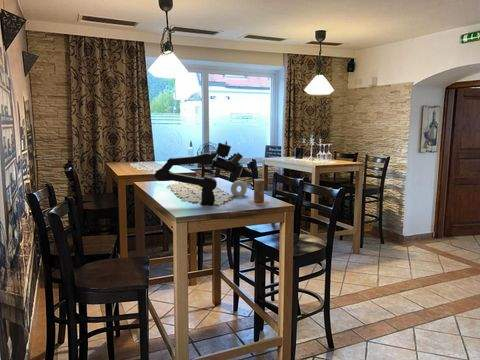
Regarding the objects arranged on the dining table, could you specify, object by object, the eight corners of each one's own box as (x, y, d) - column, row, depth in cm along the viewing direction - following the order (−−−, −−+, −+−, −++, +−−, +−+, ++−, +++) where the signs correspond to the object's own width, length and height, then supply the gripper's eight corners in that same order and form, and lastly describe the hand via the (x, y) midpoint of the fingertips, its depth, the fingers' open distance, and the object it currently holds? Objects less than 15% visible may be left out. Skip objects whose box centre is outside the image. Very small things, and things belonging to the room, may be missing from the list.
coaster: (248, 206, 197) (248, 204, 197) (246, 201, 209) (246, 200, 209) (271, 206, 198) (271, 204, 198) (268, 201, 210) (268, 200, 210)
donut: (245, 196, 225) (245, 179, 224) (247, 197, 222) (248, 180, 221) (229, 197, 221) (229, 180, 220) (232, 198, 218) (232, 181, 217)
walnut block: (254, 203, 201) (254, 180, 199) (253, 201, 206) (254, 179, 204) (263, 203, 201) (264, 180, 199) (263, 201, 206) (263, 179, 204)
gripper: (230, 151, 191) (259, 162, 192) (229, 149, 209) (256, 159, 211) (222, 172, 192) (252, 183, 194) (222, 168, 210) (249, 178, 212)
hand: (252, 175), depth 202 cm, fingers open, 9 cm apart
